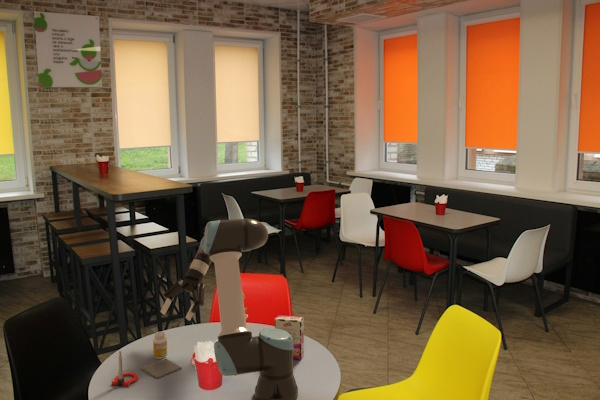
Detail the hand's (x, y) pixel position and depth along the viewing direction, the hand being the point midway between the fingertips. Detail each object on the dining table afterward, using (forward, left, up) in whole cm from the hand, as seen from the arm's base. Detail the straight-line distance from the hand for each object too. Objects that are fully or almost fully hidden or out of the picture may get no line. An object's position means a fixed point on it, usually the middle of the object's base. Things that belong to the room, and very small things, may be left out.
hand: (174, 316), depth 228 cm
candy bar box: (-41, -27, -14) cm, 51 cm away
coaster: (-13, +15, -14) cm, 24 cm away
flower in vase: (-20, -19, -14) cm, 31 cm away
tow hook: (-11, +29, -14) cm, 34 cm away
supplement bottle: (-3, +9, -14) cm, 17 cm away
